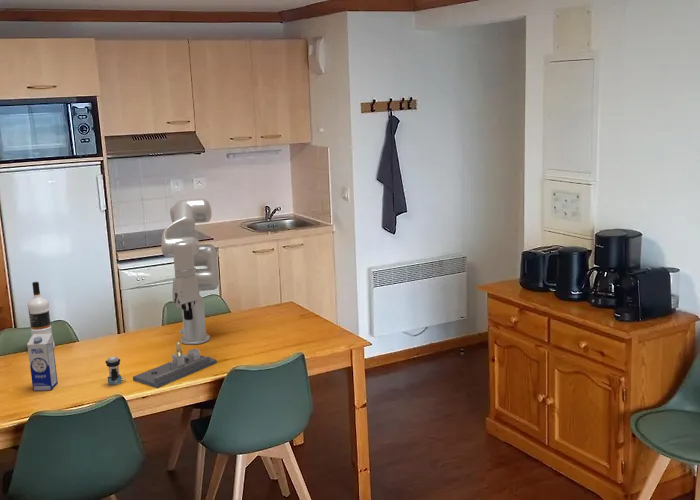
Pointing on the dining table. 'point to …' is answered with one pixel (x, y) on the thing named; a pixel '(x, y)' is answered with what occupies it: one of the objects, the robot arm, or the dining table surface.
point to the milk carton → (42, 362)
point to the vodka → (39, 313)
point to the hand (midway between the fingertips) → (188, 319)
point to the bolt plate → (175, 370)
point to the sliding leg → (178, 357)
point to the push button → (114, 371)
